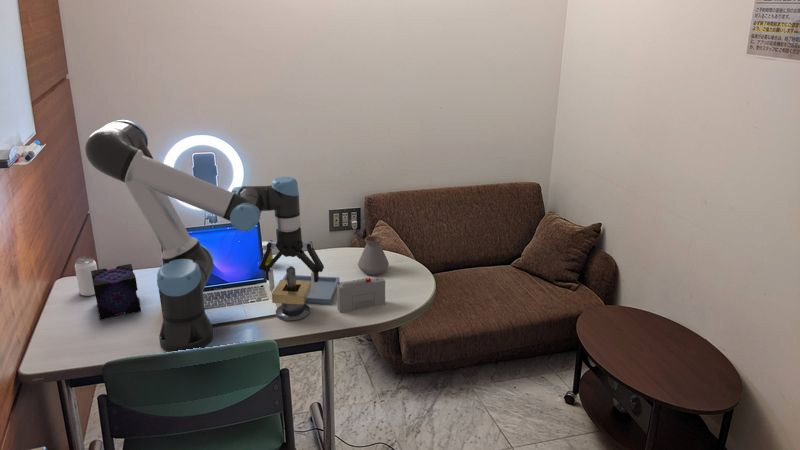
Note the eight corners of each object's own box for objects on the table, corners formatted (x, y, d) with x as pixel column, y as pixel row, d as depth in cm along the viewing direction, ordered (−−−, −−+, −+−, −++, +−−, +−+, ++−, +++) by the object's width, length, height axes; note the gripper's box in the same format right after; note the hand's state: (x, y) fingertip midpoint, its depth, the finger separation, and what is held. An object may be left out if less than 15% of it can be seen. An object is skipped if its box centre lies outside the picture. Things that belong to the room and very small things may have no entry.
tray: (330, 304, 198) (330, 299, 197) (272, 301, 199) (272, 296, 199) (339, 282, 213) (339, 277, 212) (285, 279, 215) (285, 274, 214)
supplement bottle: (268, 262, 228) (266, 239, 225) (276, 267, 224) (274, 243, 221) (256, 266, 225) (254, 243, 221) (263, 271, 221) (261, 247, 218)
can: (85, 298, 199) (79, 265, 195) (76, 292, 203) (69, 260, 199) (104, 291, 204) (98, 259, 200) (95, 286, 208) (89, 254, 204)
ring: (303, 304, 185) (303, 295, 184) (272, 302, 186) (271, 294, 185) (312, 286, 197) (312, 278, 196) (283, 284, 197) (282, 276, 196)
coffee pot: (391, 276, 219) (392, 238, 213) (360, 278, 216) (360, 240, 211) (380, 253, 238) (380, 218, 233) (351, 255, 236) (351, 220, 230)
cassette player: (382, 301, 201) (382, 274, 197) (385, 304, 198) (385, 277, 195) (337, 309, 195) (336, 281, 192) (339, 313, 193) (339, 285, 189)
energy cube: (136, 295, 202) (131, 263, 197) (141, 311, 192) (135, 277, 188) (97, 303, 196) (90, 270, 192) (100, 320, 186) (93, 285, 182)
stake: (305, 322, 187) (303, 275, 181) (271, 320, 188) (268, 273, 182) (313, 305, 197) (311, 260, 191) (281, 303, 198) (278, 258, 192)
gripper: (331, 224, 184) (334, 286, 192) (252, 222, 186) (258, 283, 194) (326, 233, 177) (329, 296, 185) (244, 231, 179) (251, 293, 187)
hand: (293, 290), depth 189 cm, fingers open, 13 cm apart
